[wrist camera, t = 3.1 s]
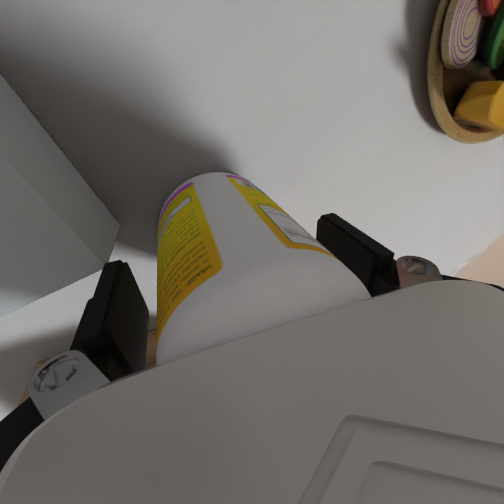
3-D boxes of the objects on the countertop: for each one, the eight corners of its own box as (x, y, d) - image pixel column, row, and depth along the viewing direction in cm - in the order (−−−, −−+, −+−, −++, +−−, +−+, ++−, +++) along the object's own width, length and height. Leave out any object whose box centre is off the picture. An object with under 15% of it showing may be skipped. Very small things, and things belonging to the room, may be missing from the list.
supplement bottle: (172, 280, 16) (192, 624, 5) (143, 177, 12) (39, 608, 2) (269, 259, 17) (429, 497, 7) (268, 162, 14) (593, 353, 3)
